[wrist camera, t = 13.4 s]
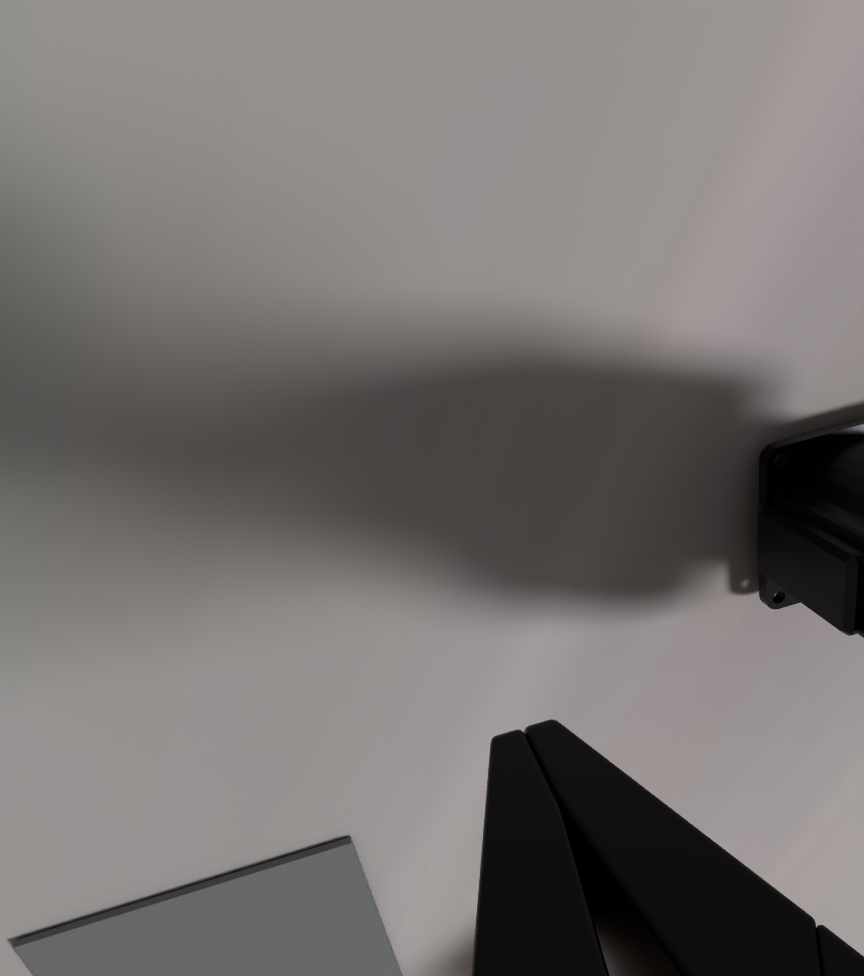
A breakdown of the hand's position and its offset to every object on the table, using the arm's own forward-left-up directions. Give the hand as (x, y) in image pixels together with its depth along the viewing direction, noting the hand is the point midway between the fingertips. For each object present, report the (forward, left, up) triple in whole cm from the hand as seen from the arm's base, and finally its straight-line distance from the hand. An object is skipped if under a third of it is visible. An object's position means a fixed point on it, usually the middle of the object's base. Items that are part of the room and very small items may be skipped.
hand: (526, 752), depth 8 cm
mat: (+12, +22, -12) cm, 28 cm away
